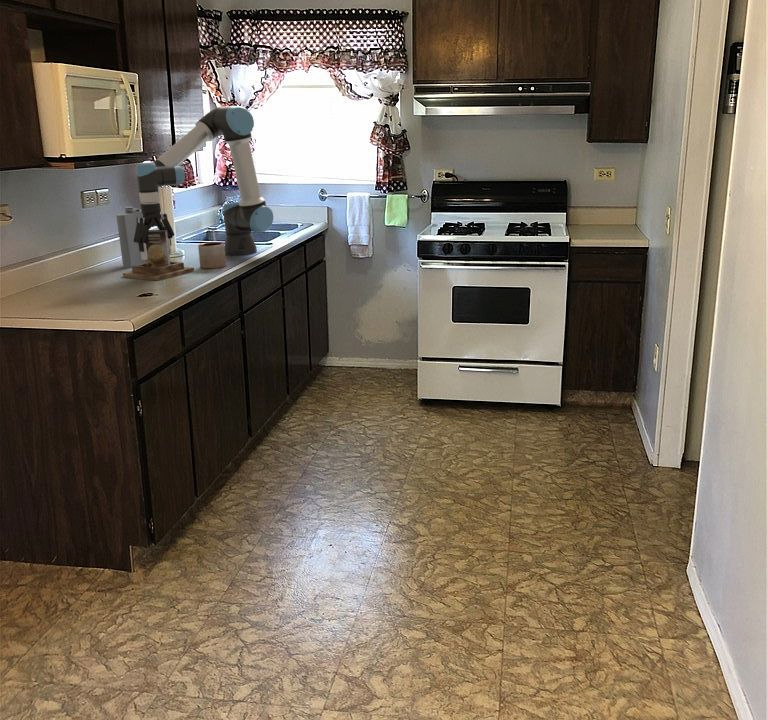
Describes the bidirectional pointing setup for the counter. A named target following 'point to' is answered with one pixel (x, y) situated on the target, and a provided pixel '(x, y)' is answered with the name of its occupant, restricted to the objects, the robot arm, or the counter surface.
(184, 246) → the counter surface
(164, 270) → the holder
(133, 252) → the flask
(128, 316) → the counter surface
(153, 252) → the coffee box
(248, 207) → the robot arm
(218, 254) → the planter
